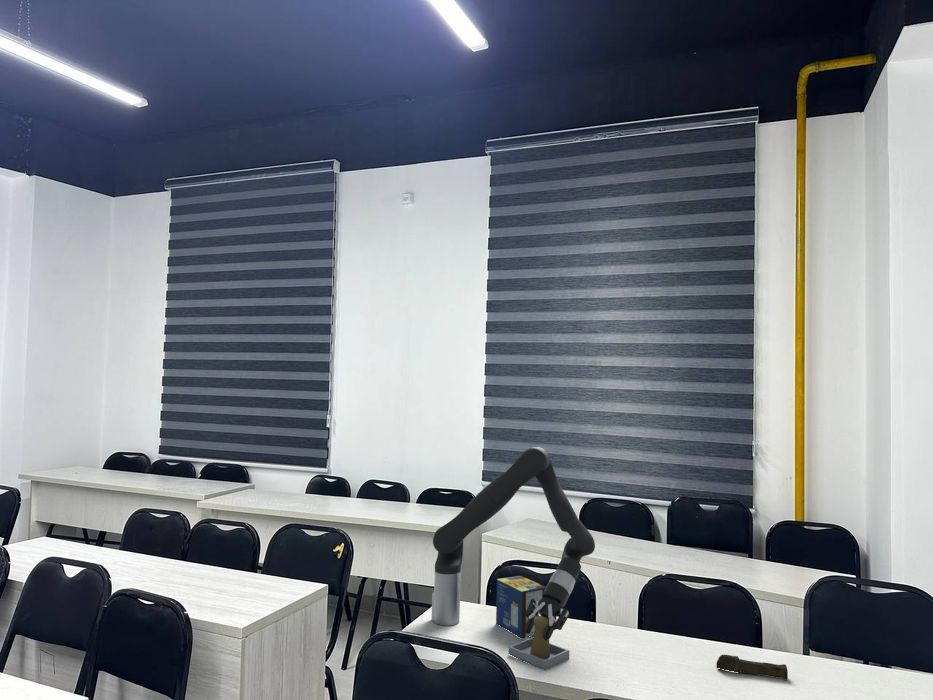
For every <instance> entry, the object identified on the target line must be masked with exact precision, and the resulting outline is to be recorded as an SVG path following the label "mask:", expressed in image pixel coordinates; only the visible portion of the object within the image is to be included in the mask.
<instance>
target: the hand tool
mask: <svg viewBox="0 0 933 700" xmlns="http://www.w3.org/2000/svg"><path fill="white" fill-rule="evenodd" d="M717 668H720V669H724V670H729V671H734V672H739V673H744V672H745V674H752V675H760V676H764V675H765V676H767V677H771V678H776V677H778V678H777V679H784V680H785V679H786V680H787V681H788V679H789V678H788V677H789V676H788V675H789V671H788V666H787V665H786V664H785V663H784V664H783V663H782V664H776V663H775V664H774V663H771V662H760V661H752V660H747V659H741V658H740V657H739V656H736V655H731V654H730V655H729V654H721V655H720V656H718V659H717V661H716V669H717ZM786 680H785V681H786Z"/></svg>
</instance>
